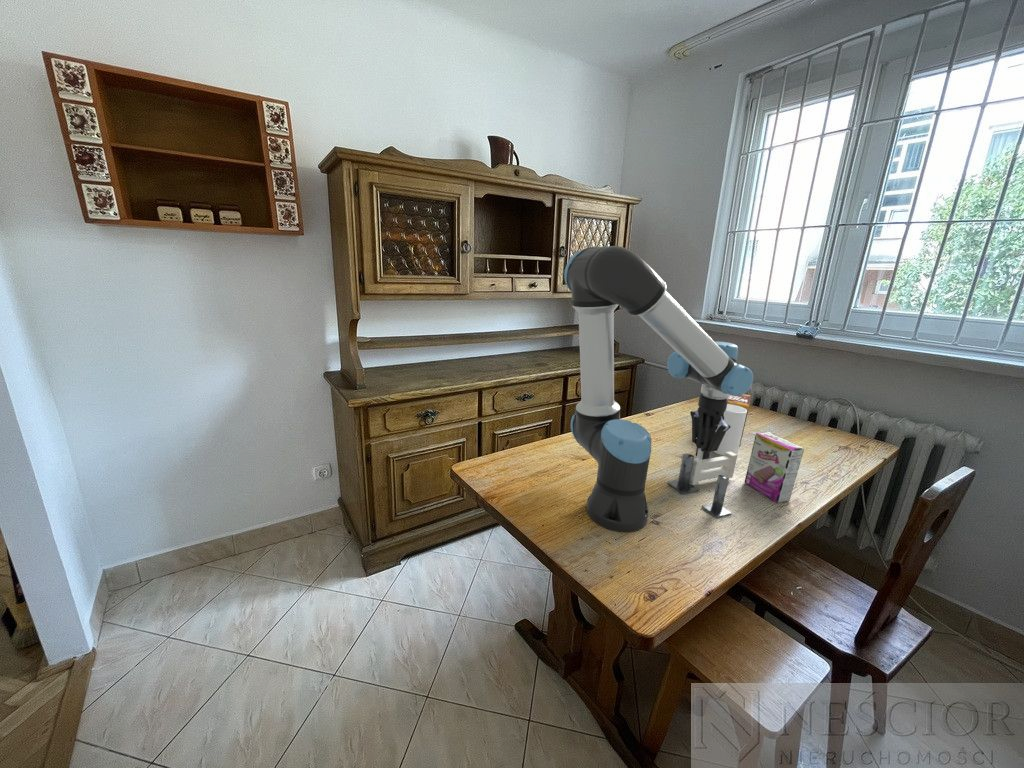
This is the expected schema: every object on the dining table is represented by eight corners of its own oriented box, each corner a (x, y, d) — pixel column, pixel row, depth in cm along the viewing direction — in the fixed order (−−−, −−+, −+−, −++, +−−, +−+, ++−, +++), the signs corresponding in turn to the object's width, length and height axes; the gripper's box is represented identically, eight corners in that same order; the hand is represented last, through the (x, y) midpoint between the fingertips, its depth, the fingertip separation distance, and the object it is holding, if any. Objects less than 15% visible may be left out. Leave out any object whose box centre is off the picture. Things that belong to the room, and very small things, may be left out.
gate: (691, 485, 114) (696, 461, 112) (685, 481, 117) (690, 458, 114) (732, 477, 120) (737, 454, 118) (725, 473, 122) (730, 451, 120)
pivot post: (682, 494, 111) (688, 462, 109) (667, 483, 117) (672, 452, 114) (698, 491, 113) (705, 459, 111) (683, 480, 119) (689, 450, 116)
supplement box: (743, 432, 156) (751, 395, 152) (740, 446, 144) (749, 406, 139) (713, 426, 161) (721, 389, 157) (708, 439, 149) (716, 399, 144)
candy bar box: (742, 483, 119) (754, 432, 114) (755, 480, 120) (767, 430, 116) (777, 504, 109) (791, 449, 104) (790, 501, 110) (805, 447, 106)
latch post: (716, 518, 101) (724, 483, 98) (701, 507, 106) (708, 473, 103) (731, 515, 103) (739, 480, 100) (715, 504, 108) (722, 471, 105)
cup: (740, 457, 135) (750, 413, 130) (714, 454, 136) (723, 411, 132) (732, 447, 143) (742, 405, 138) (708, 444, 144) (716, 403, 139)
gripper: (687, 389, 121) (675, 460, 127) (722, 403, 109) (707, 480, 116) (706, 387, 123) (693, 457, 130) (743, 401, 112) (726, 476, 118)
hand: (699, 468), depth 123 cm, fingers closed
